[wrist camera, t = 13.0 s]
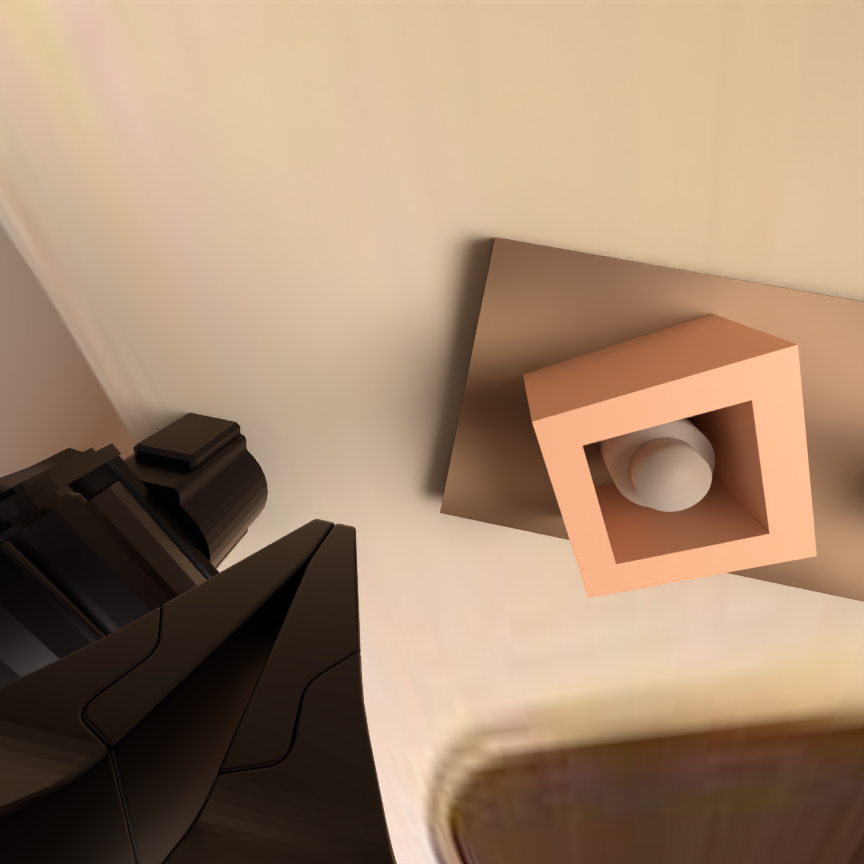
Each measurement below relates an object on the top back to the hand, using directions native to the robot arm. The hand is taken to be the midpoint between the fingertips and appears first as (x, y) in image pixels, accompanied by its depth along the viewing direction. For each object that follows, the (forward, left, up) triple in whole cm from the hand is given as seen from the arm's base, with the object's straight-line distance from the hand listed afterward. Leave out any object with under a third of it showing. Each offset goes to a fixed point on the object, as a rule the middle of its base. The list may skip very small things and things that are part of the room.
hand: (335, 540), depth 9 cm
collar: (0, -9, -10) cm, 14 cm away
